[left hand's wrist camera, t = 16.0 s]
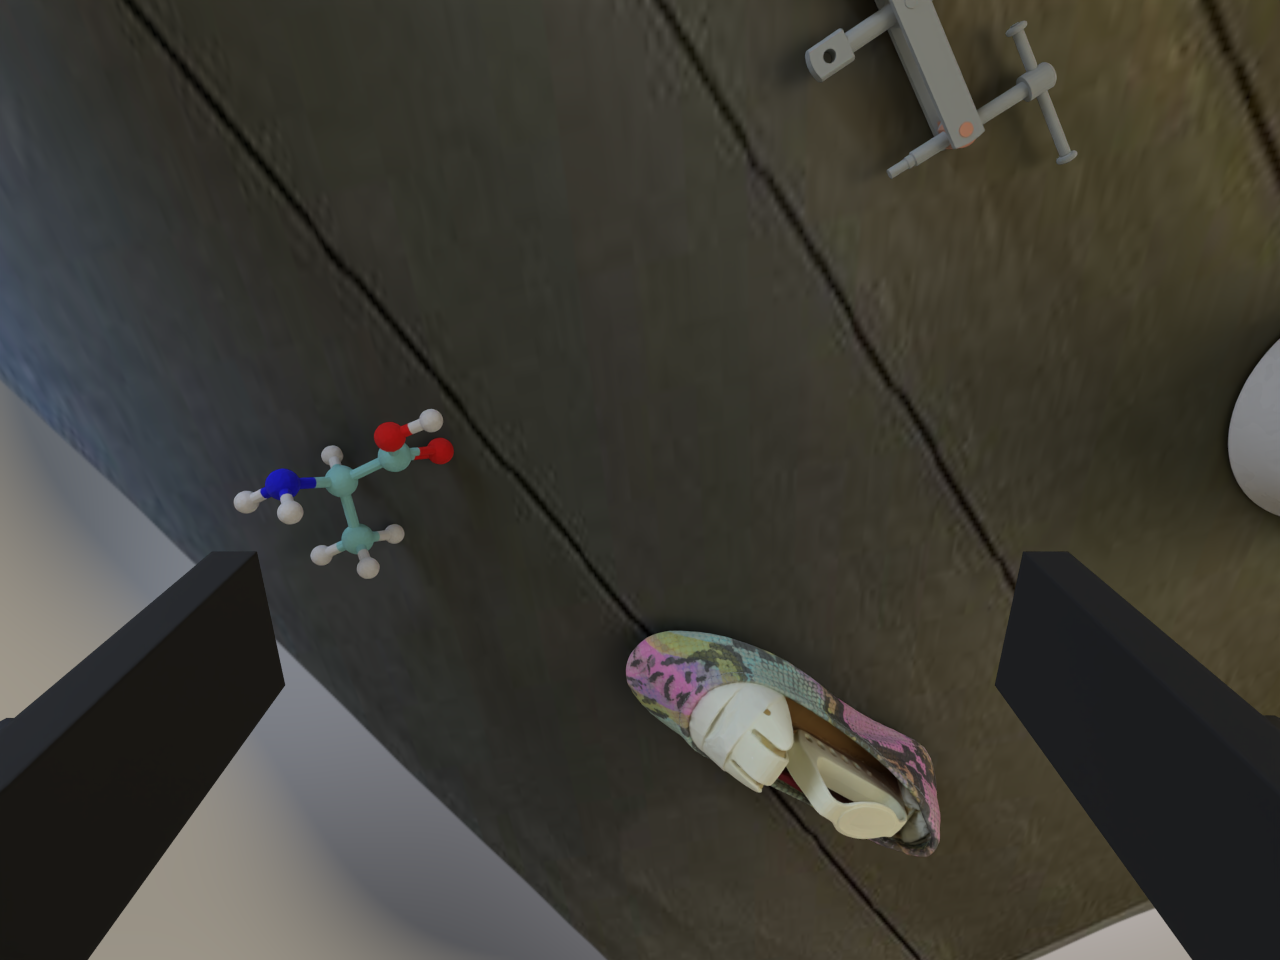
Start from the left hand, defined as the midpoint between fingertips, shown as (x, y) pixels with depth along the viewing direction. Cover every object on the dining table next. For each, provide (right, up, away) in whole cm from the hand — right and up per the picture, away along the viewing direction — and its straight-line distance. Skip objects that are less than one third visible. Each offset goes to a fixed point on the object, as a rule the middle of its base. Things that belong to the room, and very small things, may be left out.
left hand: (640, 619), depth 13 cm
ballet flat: (+10, -14, +39) cm, 43 cm away
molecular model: (-17, +3, +33) cm, 37 cm away
